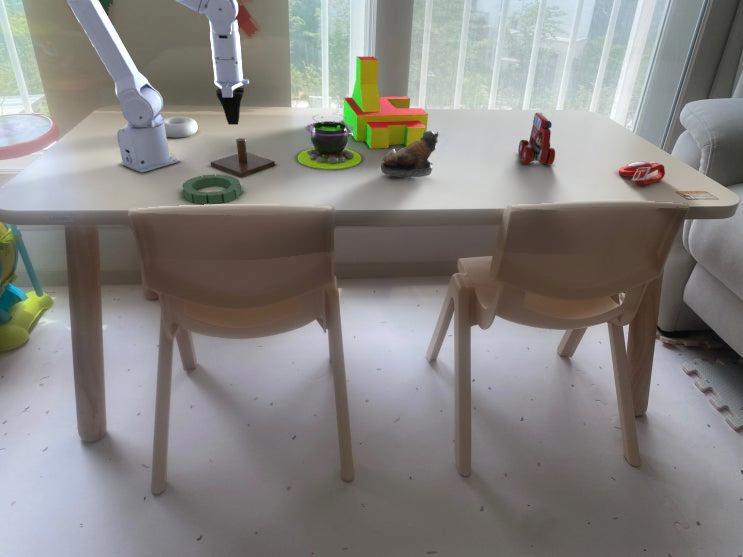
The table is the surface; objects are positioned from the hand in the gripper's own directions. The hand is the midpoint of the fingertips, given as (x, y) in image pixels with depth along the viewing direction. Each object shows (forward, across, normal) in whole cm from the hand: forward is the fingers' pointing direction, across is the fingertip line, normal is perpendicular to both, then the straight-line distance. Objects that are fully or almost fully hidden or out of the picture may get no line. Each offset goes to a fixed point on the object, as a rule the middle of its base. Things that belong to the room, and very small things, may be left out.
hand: (233, 123), depth 116 cm
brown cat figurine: (+9, -10, -38) cm, 40 cm away
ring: (+9, -17, +4) cm, 20 cm away
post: (+9, -2, -2) cm, 9 cm away
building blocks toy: (+9, +22, -38) cm, 45 cm away
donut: (+9, +23, +16) cm, 29 cm away
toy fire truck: (+9, -2, -72) cm, 72 cm away
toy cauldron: (+9, +2, -21) cm, 23 cm away
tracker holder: (+9, -15, -90) cm, 92 cm away
